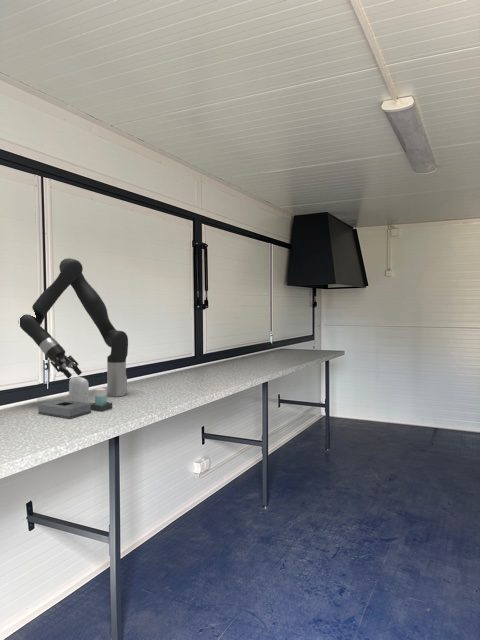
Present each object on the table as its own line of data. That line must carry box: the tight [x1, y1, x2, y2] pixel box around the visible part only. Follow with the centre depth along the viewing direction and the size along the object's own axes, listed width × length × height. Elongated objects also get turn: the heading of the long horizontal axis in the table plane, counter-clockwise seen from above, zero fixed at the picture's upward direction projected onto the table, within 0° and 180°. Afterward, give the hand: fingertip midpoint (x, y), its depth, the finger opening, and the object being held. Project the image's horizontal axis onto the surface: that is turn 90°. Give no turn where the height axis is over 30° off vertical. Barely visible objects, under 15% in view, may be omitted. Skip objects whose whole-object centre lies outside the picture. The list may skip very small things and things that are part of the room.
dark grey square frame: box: [91, 401, 113, 412], centre depth 204 cm, size 7×7×2 cm
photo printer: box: [68, 376, 90, 403], centre depth 214 cm, size 10×4×12 cm, turn 60°
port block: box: [37, 398, 92, 420], centre depth 195 cm, size 12×18×4 cm, turn 65°
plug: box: [94, 387, 108, 405], centre depth 204 cm, size 4×4×9 cm
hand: (75, 375), depth 206 cm, fingers open, 8 cm apart
